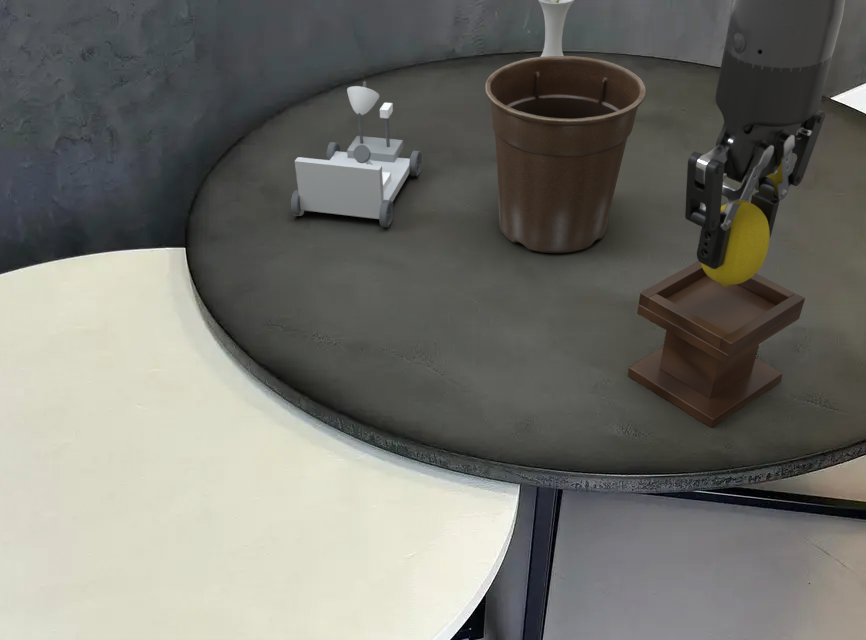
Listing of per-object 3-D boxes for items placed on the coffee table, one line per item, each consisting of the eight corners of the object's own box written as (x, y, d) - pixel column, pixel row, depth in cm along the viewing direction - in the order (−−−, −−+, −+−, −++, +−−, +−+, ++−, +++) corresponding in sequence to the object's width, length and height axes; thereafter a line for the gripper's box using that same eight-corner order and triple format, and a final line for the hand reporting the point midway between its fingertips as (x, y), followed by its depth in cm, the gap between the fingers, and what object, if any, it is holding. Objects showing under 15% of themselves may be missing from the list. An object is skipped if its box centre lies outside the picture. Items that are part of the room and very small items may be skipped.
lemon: (680, 275, 87) (696, 191, 81) (736, 263, 88) (756, 179, 82) (712, 309, 83) (730, 223, 77) (770, 296, 84) (792, 210, 78)
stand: (780, 381, 92) (805, 297, 85) (711, 428, 88) (731, 343, 81) (696, 334, 98) (713, 251, 91) (627, 375, 93) (640, 292, 87)
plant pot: (598, 184, 119) (613, 46, 107) (648, 253, 108) (670, 107, 96) (467, 202, 117) (468, 63, 105) (504, 274, 106) (510, 128, 94)
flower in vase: (498, 91, 138) (504, -114, 120) (577, 82, 140) (594, -122, 122) (522, 131, 129) (532, -83, 111) (606, 122, 131) (629, -92, 113)
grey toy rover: (334, 74, 120) (426, 81, 118) (341, 151, 127) (428, 160, 125) (281, 140, 108) (382, 150, 106) (292, 221, 115) (386, 232, 113)
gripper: (759, 87, 66) (713, 302, 78) (884, 30, 72) (823, 238, 84) (672, 55, 70) (641, 264, 82) (797, 3, 76) (750, 205, 88)
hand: (733, 249), depth 83 cm, fingers closed on lemon, 5 cm apart
